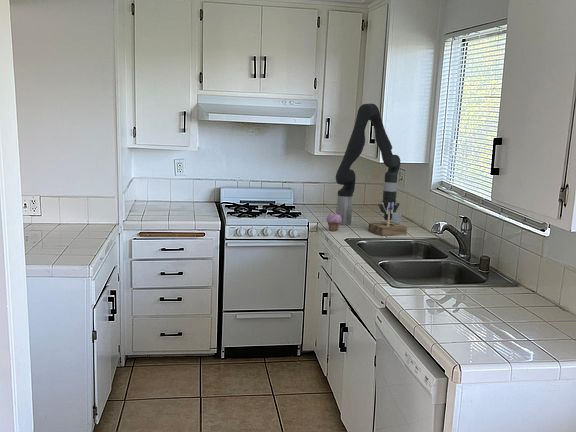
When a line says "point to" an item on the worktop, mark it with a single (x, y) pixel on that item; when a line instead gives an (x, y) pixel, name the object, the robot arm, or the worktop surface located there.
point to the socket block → (387, 229)
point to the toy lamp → (389, 213)
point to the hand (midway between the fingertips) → (387, 219)
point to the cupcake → (334, 221)
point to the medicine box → (396, 218)
